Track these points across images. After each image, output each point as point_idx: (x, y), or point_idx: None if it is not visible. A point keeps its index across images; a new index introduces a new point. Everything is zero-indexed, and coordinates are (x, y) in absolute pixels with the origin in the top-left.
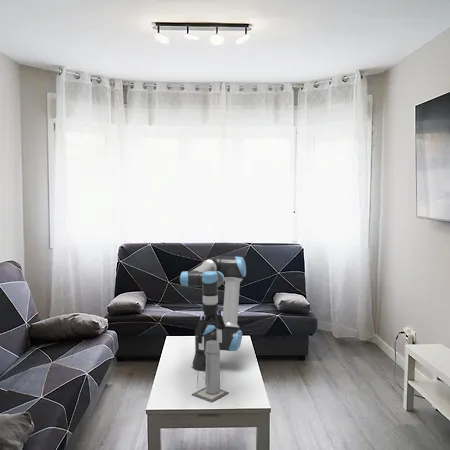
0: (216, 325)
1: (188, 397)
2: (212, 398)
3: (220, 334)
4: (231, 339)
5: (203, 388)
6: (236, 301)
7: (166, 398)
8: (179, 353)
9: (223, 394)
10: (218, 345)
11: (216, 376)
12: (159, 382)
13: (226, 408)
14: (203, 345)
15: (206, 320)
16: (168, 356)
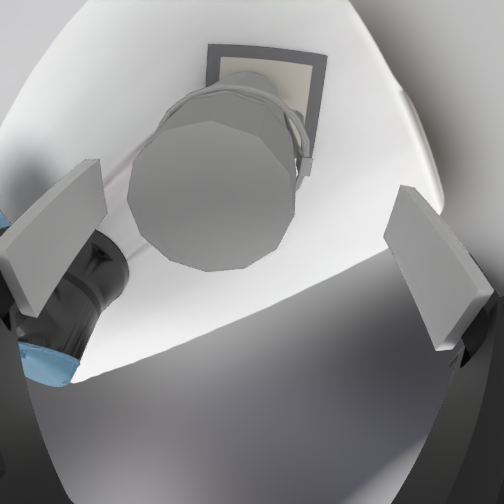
0: (18, 367)
1: (333, 158)
2: (304, 66)
3: (46, 214)
4: None
5: None
6: None
7: (372, 217)
8: (99, 346)
9: (242, 49)
10: (192, 115)
11: (256, 79)
12: (277, 298)
13: None
14: (428, 211)
15: None
16: (130, 356)
